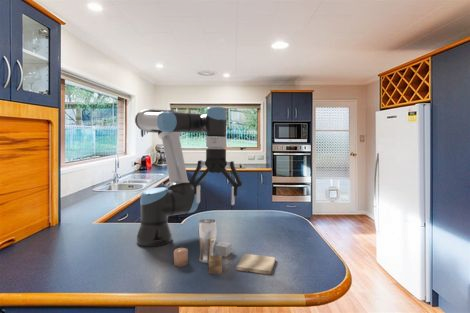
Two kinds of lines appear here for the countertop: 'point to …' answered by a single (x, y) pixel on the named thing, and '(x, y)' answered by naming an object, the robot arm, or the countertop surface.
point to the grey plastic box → (223, 248)
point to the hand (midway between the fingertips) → (215, 203)
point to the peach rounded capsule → (180, 257)
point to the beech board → (256, 264)
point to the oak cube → (215, 264)
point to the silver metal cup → (206, 238)
